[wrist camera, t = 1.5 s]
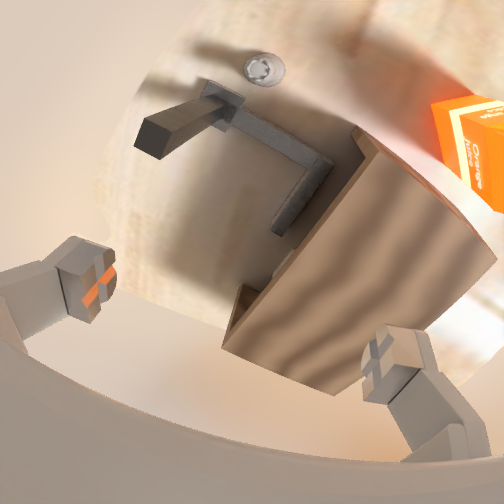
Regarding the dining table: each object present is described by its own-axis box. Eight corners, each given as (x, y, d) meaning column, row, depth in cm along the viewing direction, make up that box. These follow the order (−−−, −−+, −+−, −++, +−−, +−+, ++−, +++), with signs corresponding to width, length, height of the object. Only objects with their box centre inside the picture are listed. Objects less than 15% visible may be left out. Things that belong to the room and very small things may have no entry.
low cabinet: (238, 289, 53) (221, 348, 42) (356, 125, 36) (379, 151, 25) (333, 337, 56) (333, 396, 45) (458, 209, 39) (497, 259, 28)
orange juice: (475, 94, 29) (574, 129, 13) (487, 154, 33) (573, 220, 17) (429, 104, 32) (517, 142, 15) (443, 165, 36) (519, 241, 19)
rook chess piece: (291, 60, 33) (288, 58, 26) (277, 92, 35) (271, 97, 28) (256, 48, 32) (244, 43, 26) (244, 79, 35) (229, 82, 28)
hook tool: (170, 165, 43) (93, 233, 26) (211, 80, 35) (136, 95, 19) (283, 228, 45) (266, 328, 29) (337, 152, 38) (361, 222, 22)
